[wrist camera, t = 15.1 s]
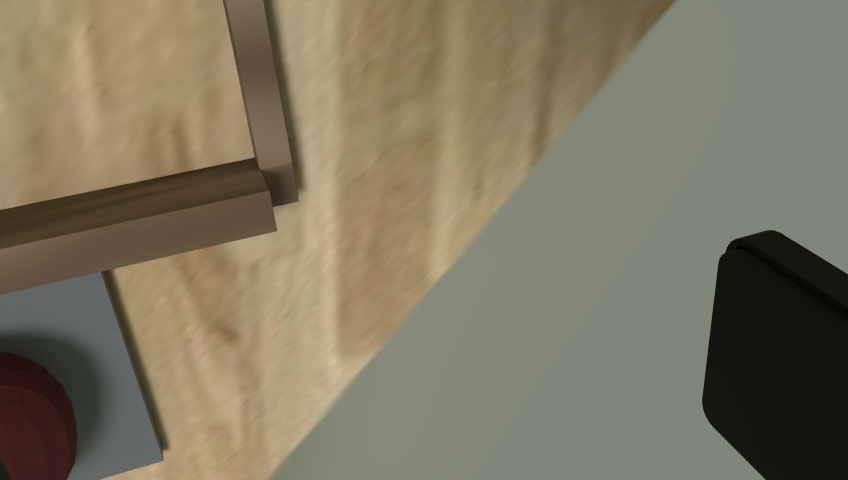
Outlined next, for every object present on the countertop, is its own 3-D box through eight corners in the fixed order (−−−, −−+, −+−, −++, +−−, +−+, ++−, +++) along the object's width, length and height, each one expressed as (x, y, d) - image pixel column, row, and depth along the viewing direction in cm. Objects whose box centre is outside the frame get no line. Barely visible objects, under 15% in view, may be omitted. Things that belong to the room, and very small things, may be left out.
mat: (-189, 326, 34) (-196, 338, 34) (100, 260, 37) (100, 270, 37) (-80, 518, 40) (-84, 533, 39) (162, 448, 43) (163, 460, 42)
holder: (-195, -103, 28) (-236, -92, 25) (231, -149, 32) (246, -145, 28) (-38, 261, 35) (-54, 307, 32) (292, 189, 39) (310, 223, 36)
